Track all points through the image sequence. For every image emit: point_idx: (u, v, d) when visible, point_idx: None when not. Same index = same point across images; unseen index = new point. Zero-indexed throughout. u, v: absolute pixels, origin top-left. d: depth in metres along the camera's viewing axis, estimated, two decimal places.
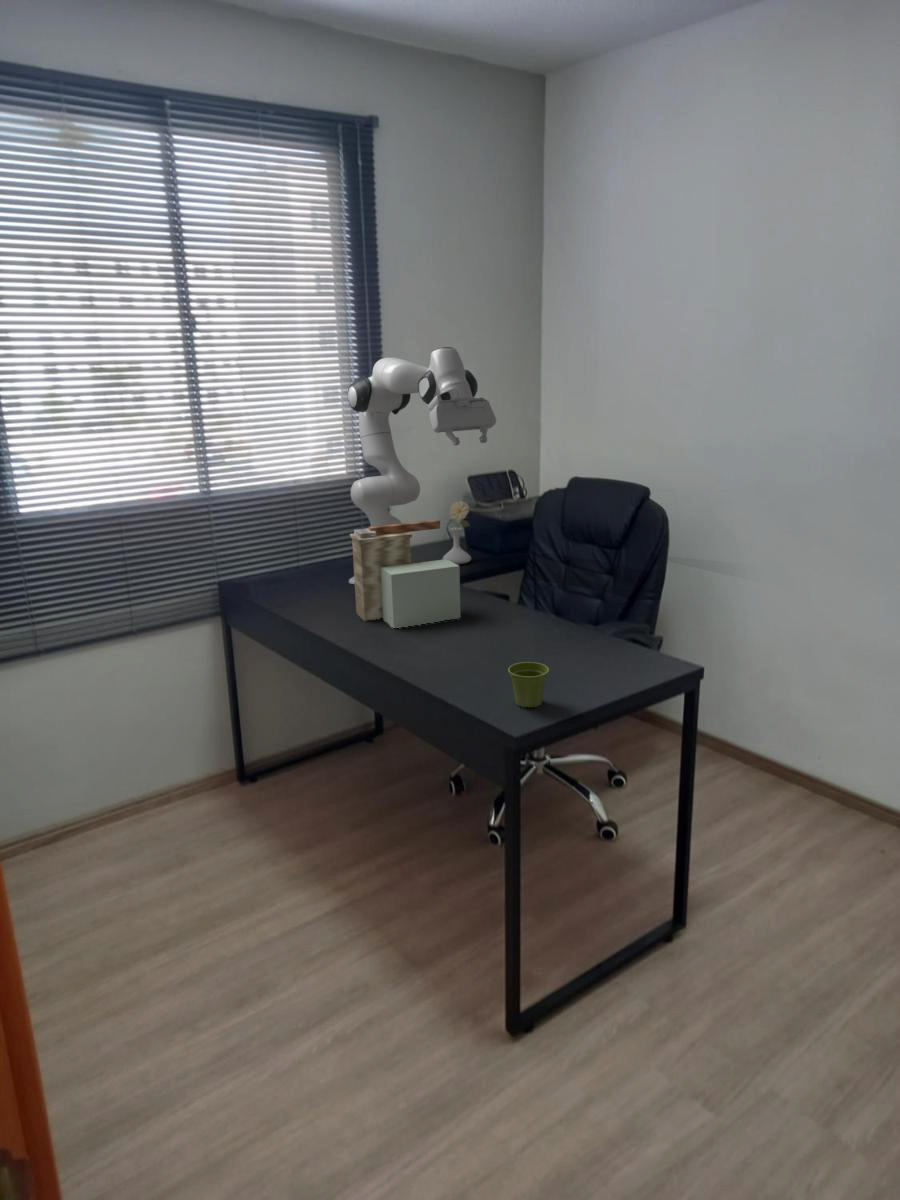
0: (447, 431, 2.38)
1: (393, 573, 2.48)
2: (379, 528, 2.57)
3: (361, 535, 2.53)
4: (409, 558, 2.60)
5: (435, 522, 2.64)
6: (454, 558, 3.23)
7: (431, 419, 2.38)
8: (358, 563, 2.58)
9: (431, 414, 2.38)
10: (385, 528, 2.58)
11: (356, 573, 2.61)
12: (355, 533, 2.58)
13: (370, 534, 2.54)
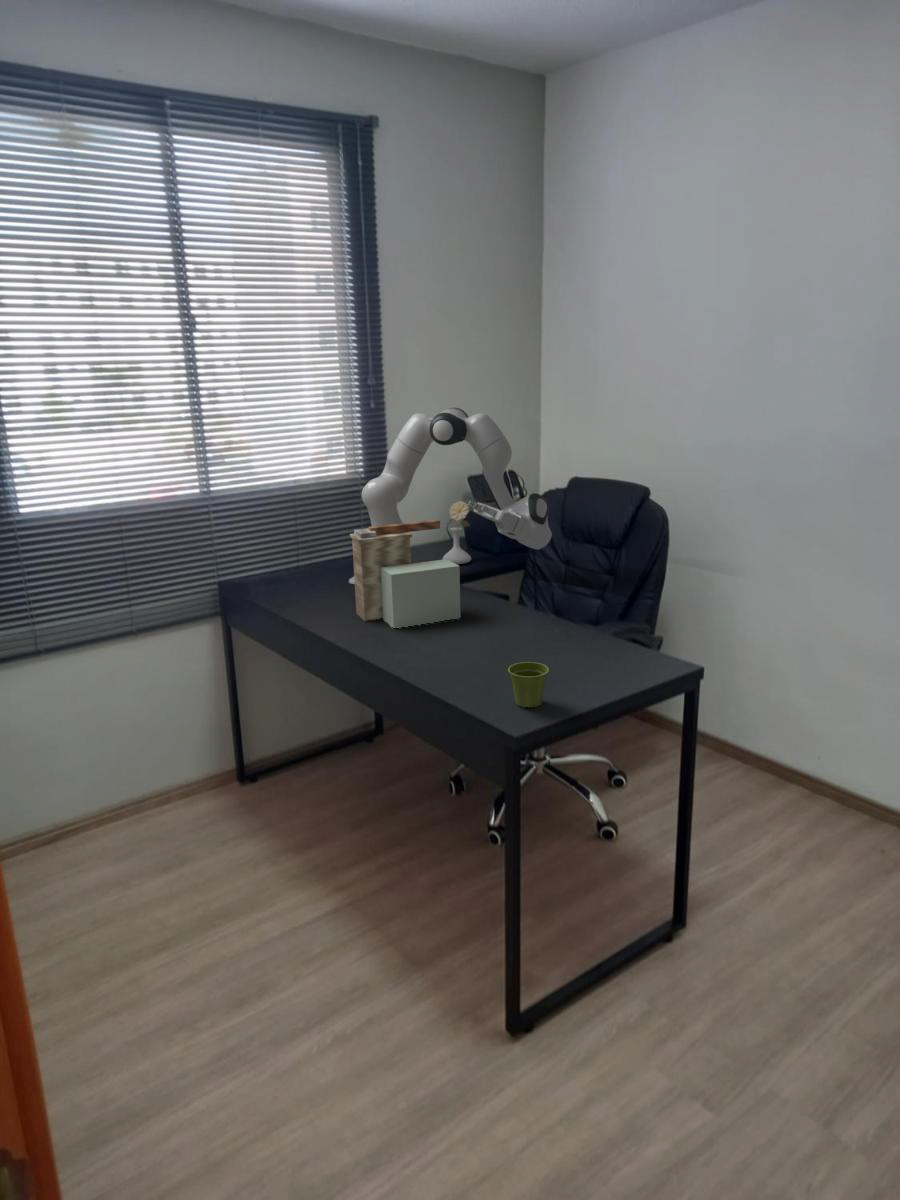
0: (494, 513, 2.65)
1: (393, 573, 2.48)
2: (379, 528, 2.57)
3: (361, 535, 2.53)
4: (409, 558, 2.60)
5: (435, 522, 2.64)
6: (454, 558, 3.23)
7: (511, 517, 2.64)
8: (358, 563, 2.58)
9: (514, 520, 2.65)
10: (385, 528, 2.58)
11: (356, 573, 2.61)
12: (355, 533, 2.58)
13: (370, 534, 2.54)
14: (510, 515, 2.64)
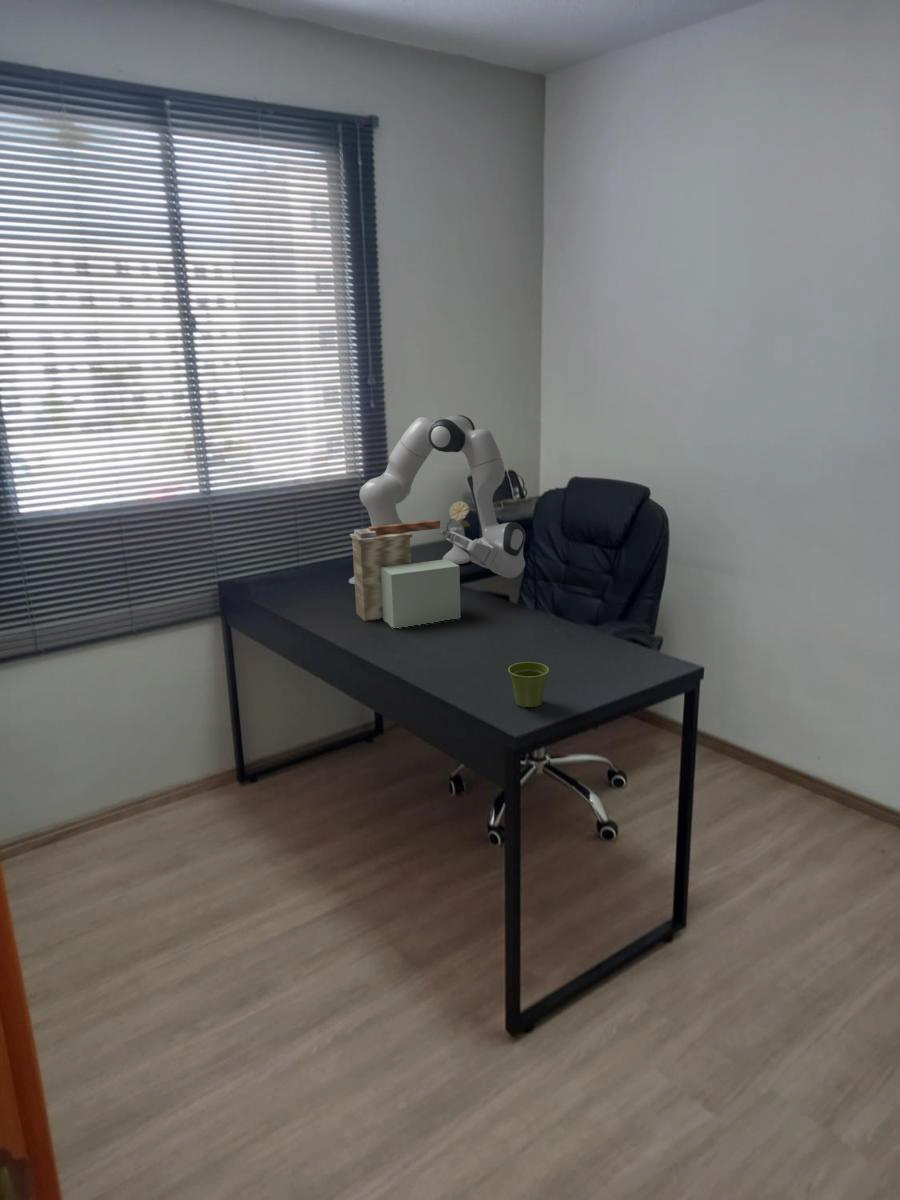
0: (466, 544, 2.64)
1: (393, 573, 2.48)
2: (379, 528, 2.57)
3: (361, 535, 2.53)
4: (409, 558, 2.60)
5: (435, 522, 2.64)
6: (454, 558, 3.23)
7: (483, 548, 2.64)
8: (358, 563, 2.58)
9: (486, 550, 2.64)
10: (385, 528, 2.58)
11: (356, 573, 2.61)
12: (355, 533, 2.58)
13: (370, 534, 2.54)
14: (482, 546, 2.63)
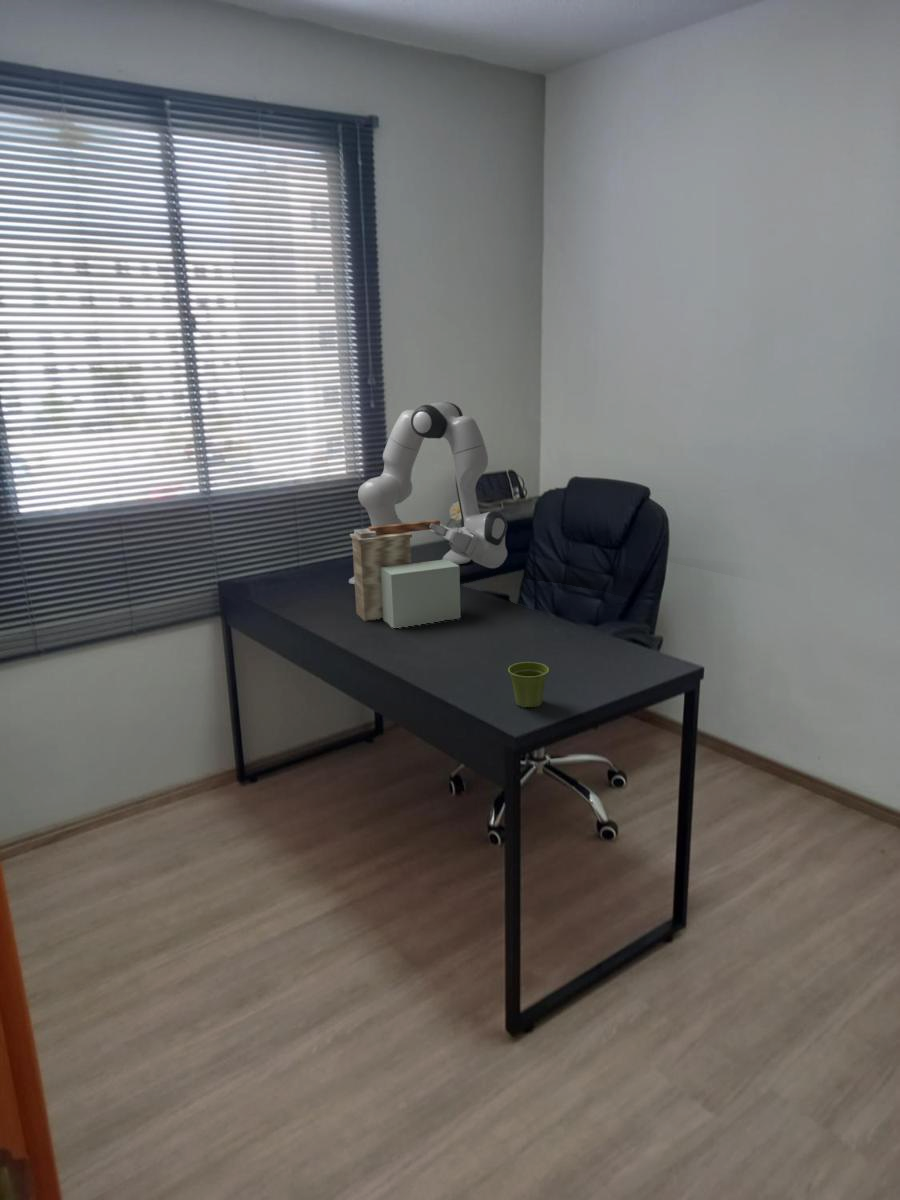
0: (442, 531, 2.63)
1: (393, 573, 2.48)
2: (379, 528, 2.57)
3: (361, 535, 2.53)
4: (409, 558, 2.60)
5: (435, 522, 2.64)
6: (454, 558, 3.23)
7: (463, 537, 2.60)
8: (358, 563, 2.58)
9: (466, 539, 2.61)
10: (385, 528, 2.58)
11: (356, 573, 2.61)
12: (355, 533, 2.58)
13: (370, 534, 2.54)
14: (462, 535, 2.59)
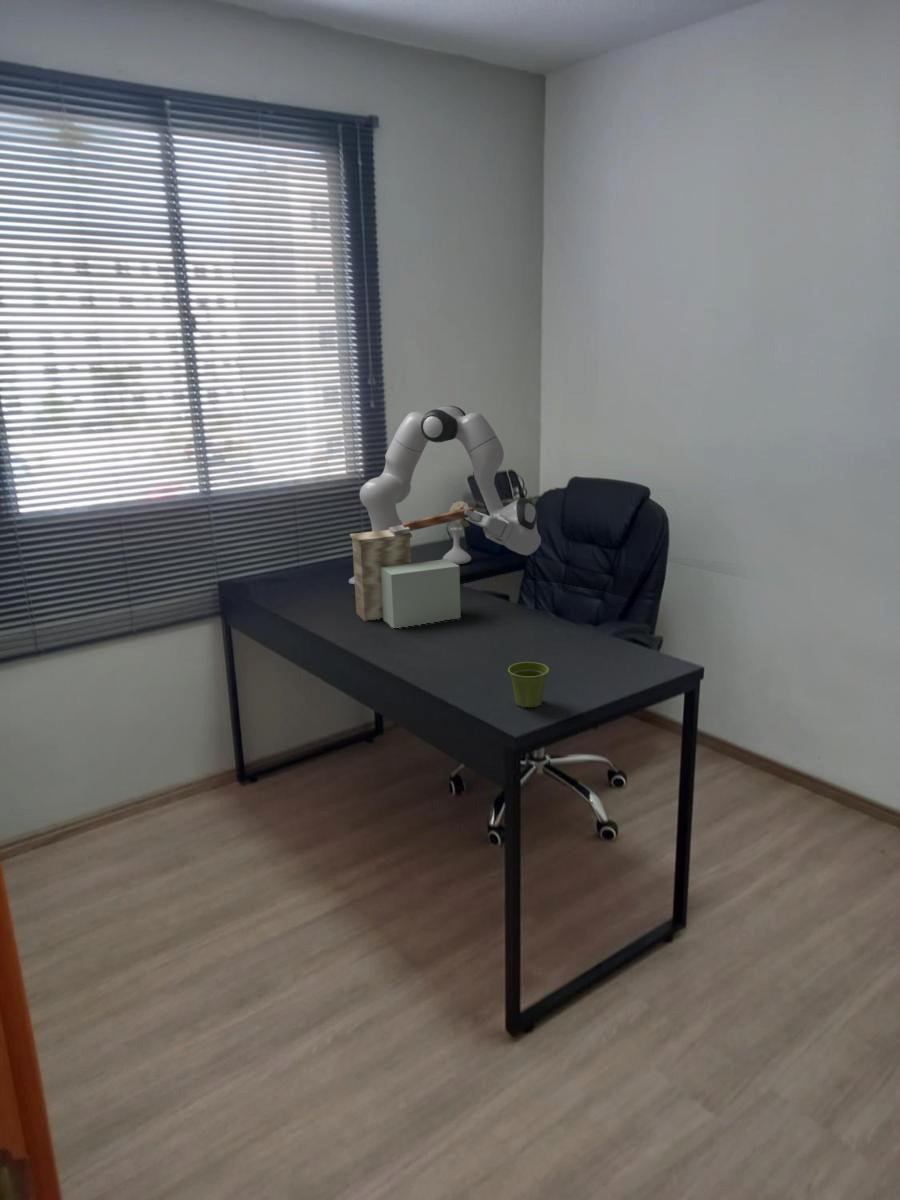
0: (477, 517, 2.61)
1: (393, 573, 2.48)
2: (412, 523, 2.58)
3: (395, 533, 2.55)
4: (409, 558, 2.60)
5: None
6: (454, 558, 3.23)
7: (499, 523, 2.58)
8: (358, 563, 2.58)
9: (502, 525, 2.59)
10: (419, 523, 2.58)
11: (356, 573, 2.61)
12: (390, 531, 2.60)
13: (404, 531, 2.55)
14: (497, 521, 2.58)
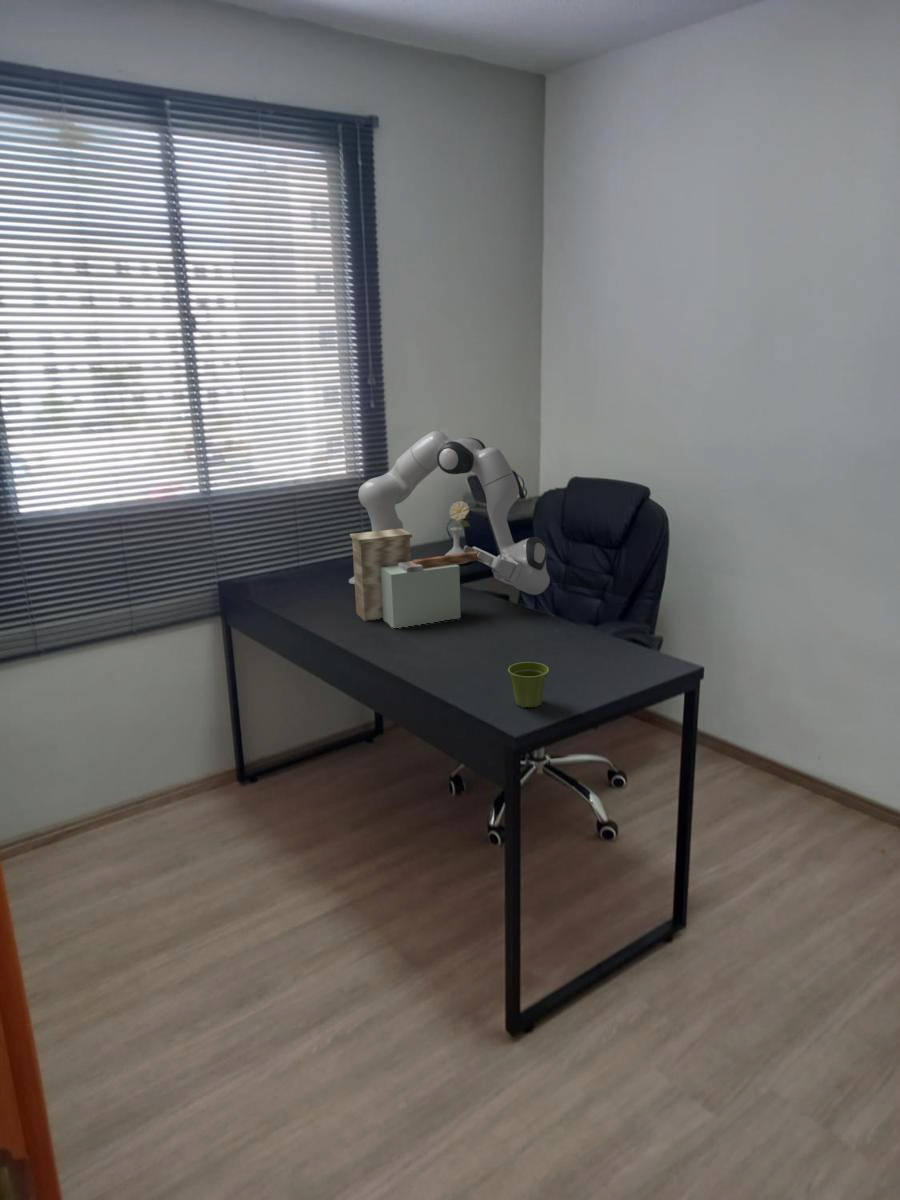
0: (490, 560, 2.57)
1: (393, 573, 2.48)
2: (424, 561, 2.53)
3: (407, 569, 2.48)
4: (409, 558, 2.60)
5: None
6: None
7: (508, 565, 2.56)
8: (358, 563, 2.58)
9: (511, 567, 2.57)
10: (430, 561, 2.53)
11: (356, 573, 2.61)
12: (399, 566, 2.53)
13: (416, 568, 2.49)
14: (507, 562, 2.55)
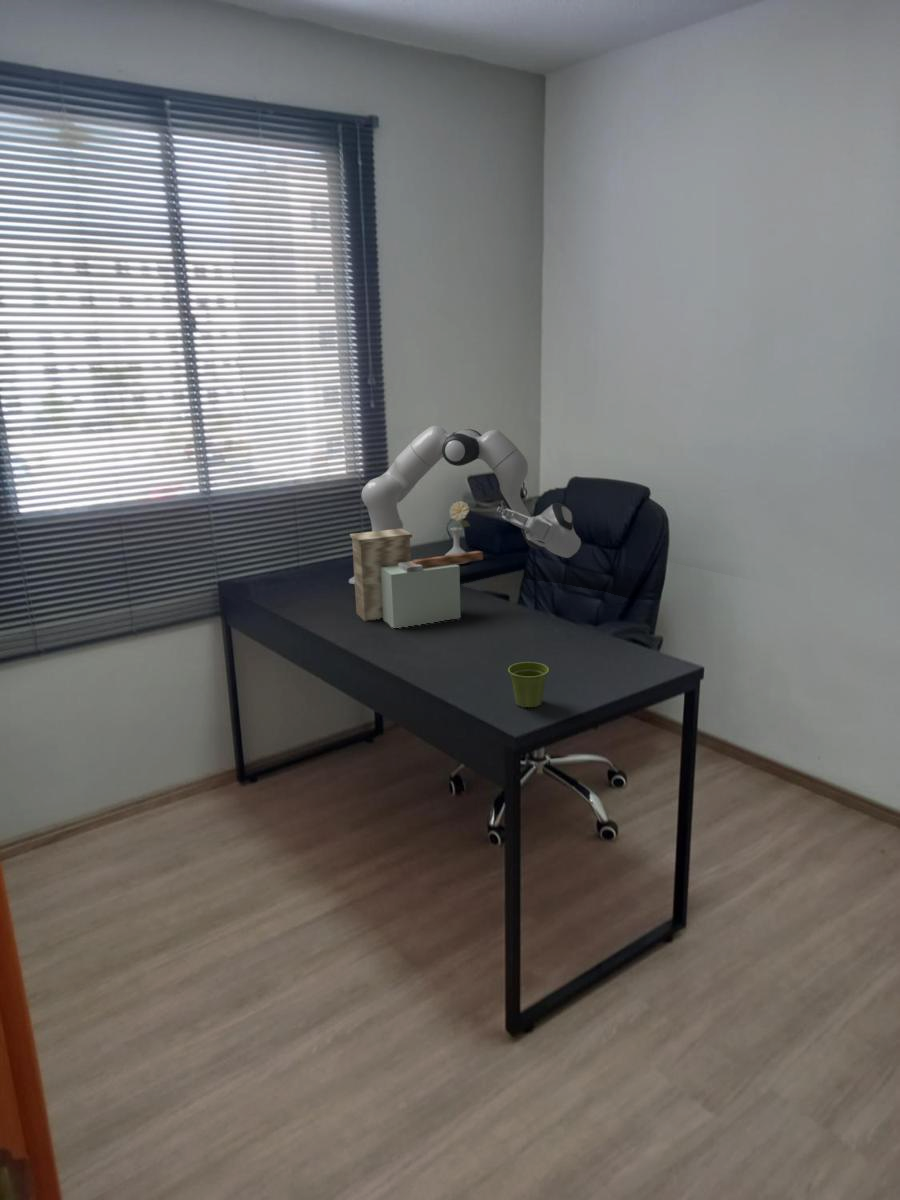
0: (524, 521, 2.58)
1: (393, 573, 2.48)
2: (424, 561, 2.53)
3: (407, 569, 2.48)
4: (409, 558, 2.60)
5: (478, 553, 2.60)
6: None
7: (542, 525, 2.57)
8: (358, 563, 2.58)
9: (545, 528, 2.58)
10: (430, 561, 2.53)
11: (356, 573, 2.61)
12: (399, 566, 2.53)
13: (416, 568, 2.49)
14: (541, 523, 2.56)
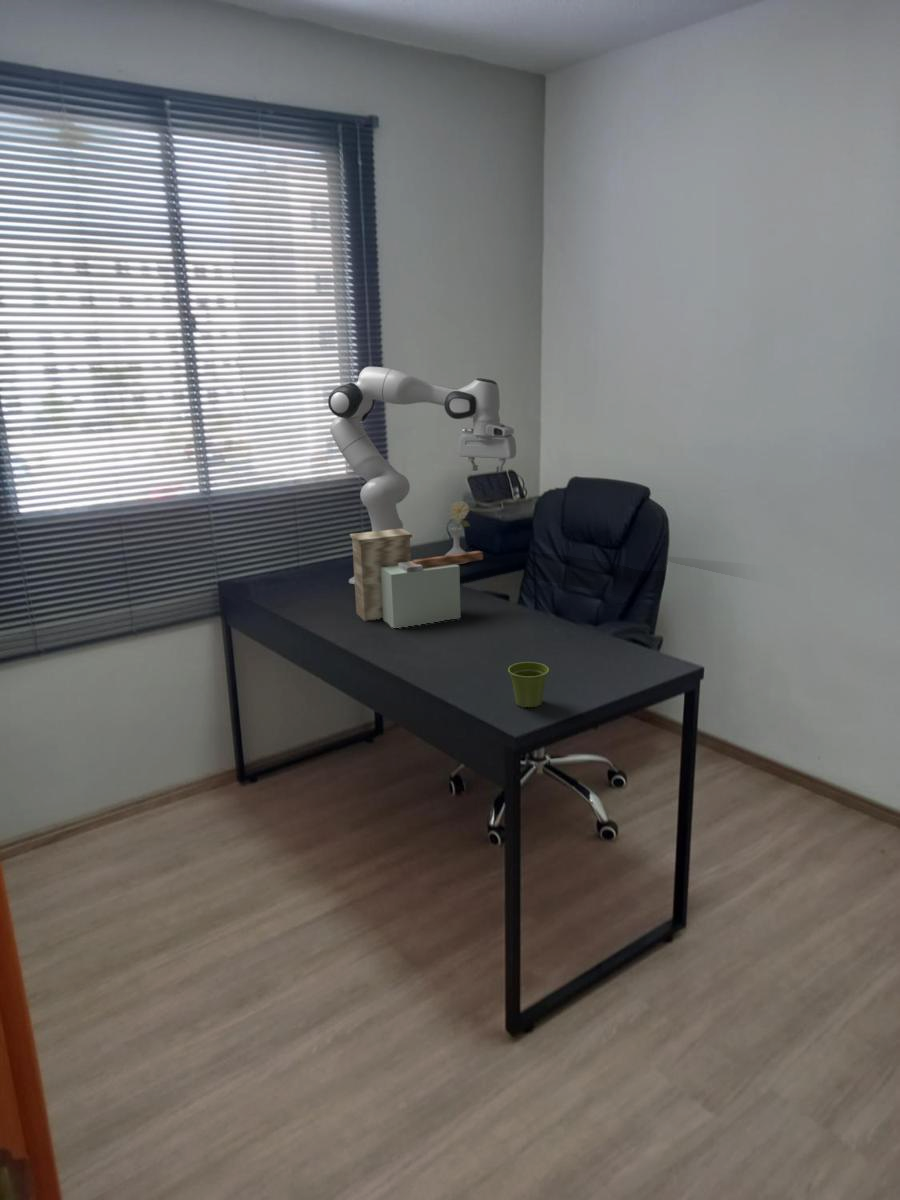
0: (504, 459, 2.75)
1: (393, 573, 2.48)
2: (424, 561, 2.53)
3: (407, 569, 2.48)
4: (409, 558, 2.60)
5: (478, 553, 2.60)
6: None
7: (511, 446, 2.71)
8: (358, 563, 2.58)
9: (511, 442, 2.71)
10: (430, 561, 2.53)
11: (356, 573, 2.61)
12: (399, 566, 2.53)
13: (416, 568, 2.49)
14: (511, 449, 2.71)
